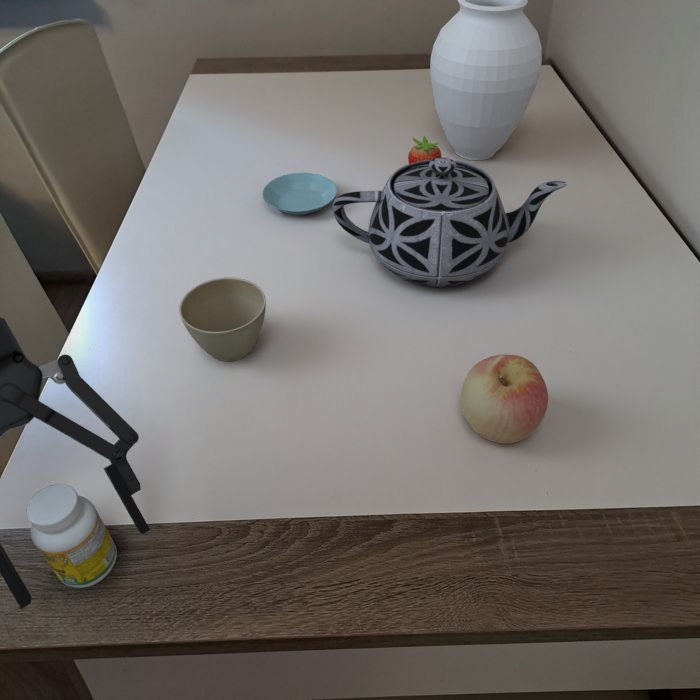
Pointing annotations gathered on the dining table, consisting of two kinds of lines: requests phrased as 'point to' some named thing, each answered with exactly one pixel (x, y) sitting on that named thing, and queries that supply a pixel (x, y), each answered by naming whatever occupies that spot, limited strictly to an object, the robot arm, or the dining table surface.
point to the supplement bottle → (71, 536)
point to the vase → (484, 74)
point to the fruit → (423, 151)
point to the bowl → (224, 316)
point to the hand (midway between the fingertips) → (87, 565)
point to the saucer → (299, 193)
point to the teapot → (440, 221)
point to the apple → (504, 398)
